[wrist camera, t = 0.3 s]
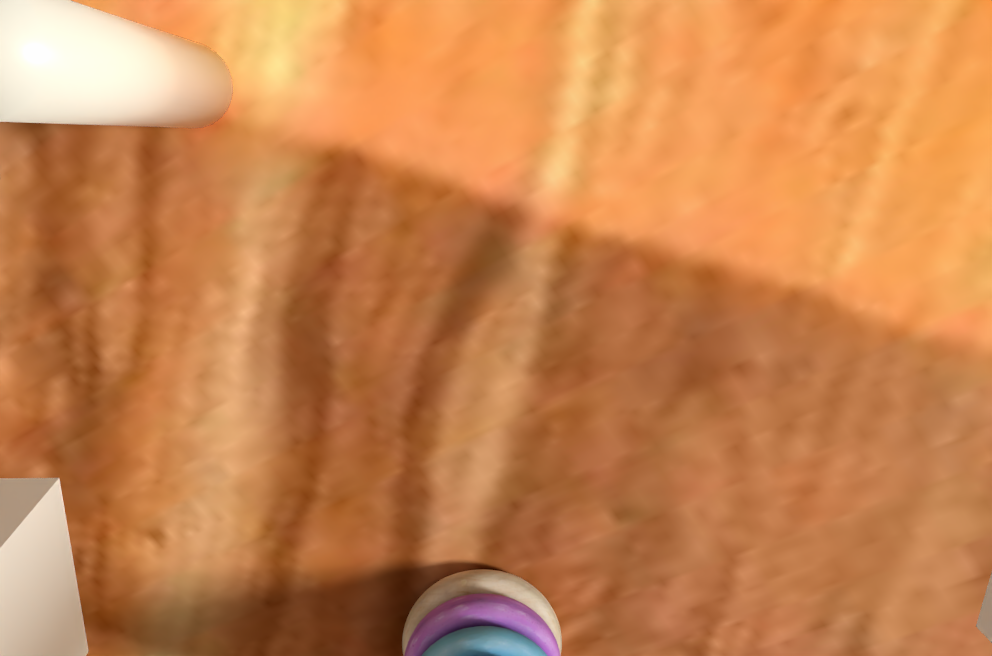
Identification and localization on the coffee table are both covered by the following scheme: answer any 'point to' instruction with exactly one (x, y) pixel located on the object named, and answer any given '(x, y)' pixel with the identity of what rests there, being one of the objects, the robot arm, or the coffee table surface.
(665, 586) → the coffee table surface
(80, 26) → the tall pin
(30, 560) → the robot arm
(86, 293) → the coffee table surface
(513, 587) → the stacking toy
